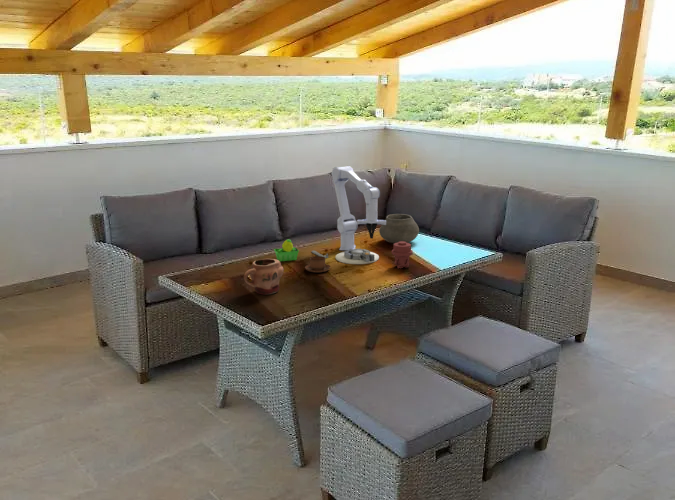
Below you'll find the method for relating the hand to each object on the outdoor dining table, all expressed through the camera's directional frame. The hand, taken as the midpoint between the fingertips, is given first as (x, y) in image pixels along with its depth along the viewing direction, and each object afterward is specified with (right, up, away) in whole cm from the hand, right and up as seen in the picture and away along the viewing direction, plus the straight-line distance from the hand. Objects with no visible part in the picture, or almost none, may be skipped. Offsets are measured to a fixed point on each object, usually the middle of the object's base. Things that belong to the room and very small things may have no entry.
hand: (371, 238), depth 308 cm
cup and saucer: (-27, -16, -19) cm, 37 cm away
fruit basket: (-43, -11, -1) cm, 44 cm away
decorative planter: (-49, -25, -49) cm, 73 cm away
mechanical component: (+14, -14, -15) cm, 25 cm away
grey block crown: (-7, -10, -1) cm, 12 cm away
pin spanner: (-26, -9, +7) cm, 29 cm away
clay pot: (+17, -2, +30) cm, 34 cm away
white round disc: (-7, -10, +1) cm, 12 cm away
